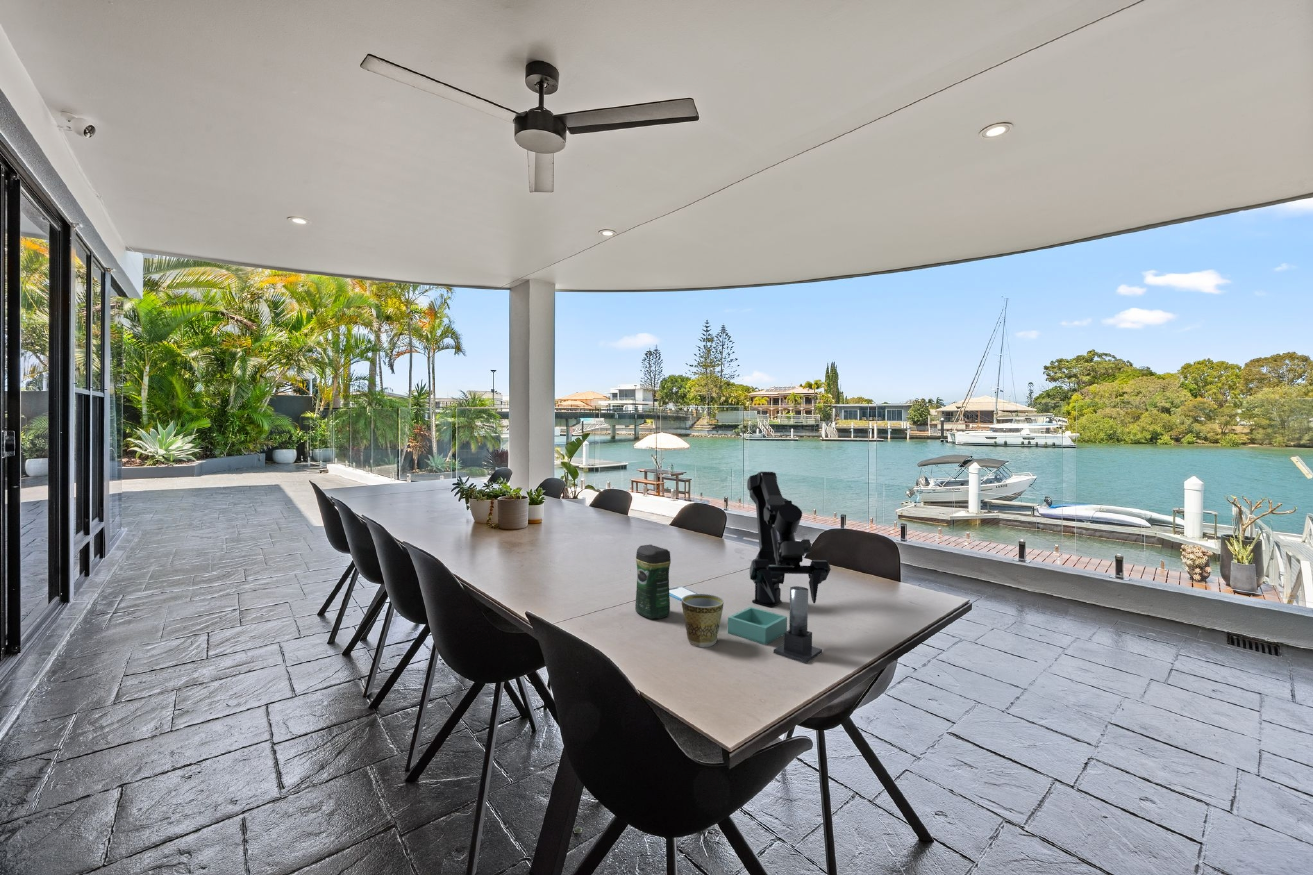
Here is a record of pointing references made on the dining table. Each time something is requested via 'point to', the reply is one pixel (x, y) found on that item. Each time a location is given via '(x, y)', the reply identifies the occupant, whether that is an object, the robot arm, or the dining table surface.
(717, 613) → the ceramic cup
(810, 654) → the stud base
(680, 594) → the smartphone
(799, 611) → the strut
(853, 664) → the dining table surface
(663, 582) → the coffee jar
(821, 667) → the dining table surface
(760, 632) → the bin
